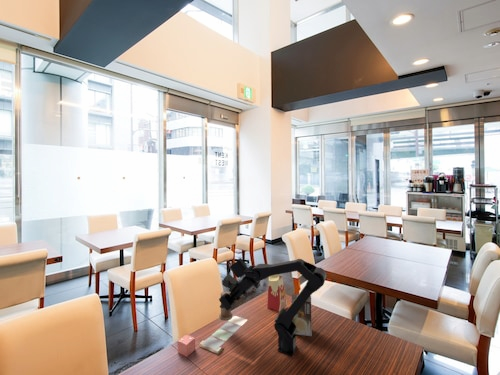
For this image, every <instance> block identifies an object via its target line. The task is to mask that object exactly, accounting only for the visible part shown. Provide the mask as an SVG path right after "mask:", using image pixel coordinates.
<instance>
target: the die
mask: <svg viewBox="0 0 500 375" xmlns="http://www.w3.org/2000/svg"><path fill="white" fill-rule="evenodd" d="M195 350H196V337H193V336H192V335H189V334H185V335H184V336H182V337H181V338H180V339H179V340H177V354H179V355H183V356H184V357H186V358H187V357H188V356H189V355H191V354H192V353H193V352H194V351H195Z"/></svg>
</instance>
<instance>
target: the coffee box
mask: <svg viewBox="0 0 500 375" xmlns="http://www.w3.org/2000/svg"><path fill="white" fill-rule="evenodd" d="M298 295H299V294H295V293H292V295H291V304H292V303H293V301H294V300H295V299H296V297H297V296H298ZM292 322H293V323H294V324H295V325H296V326H297V327H296V330H295V332H294V334H295V335H297V336H298V335H299V336H305V337H306V336H307V337H312V334H313V332H312V331H313V330H312V329H313V328H312V295H311V296H310V297H309V298H308V300H307V301H306V302H305V304H304V305H303V306H302V308H301V309H300V310H299V311H298V313H297V314H296V315H295V317H294V318H293V320H292Z"/></svg>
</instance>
